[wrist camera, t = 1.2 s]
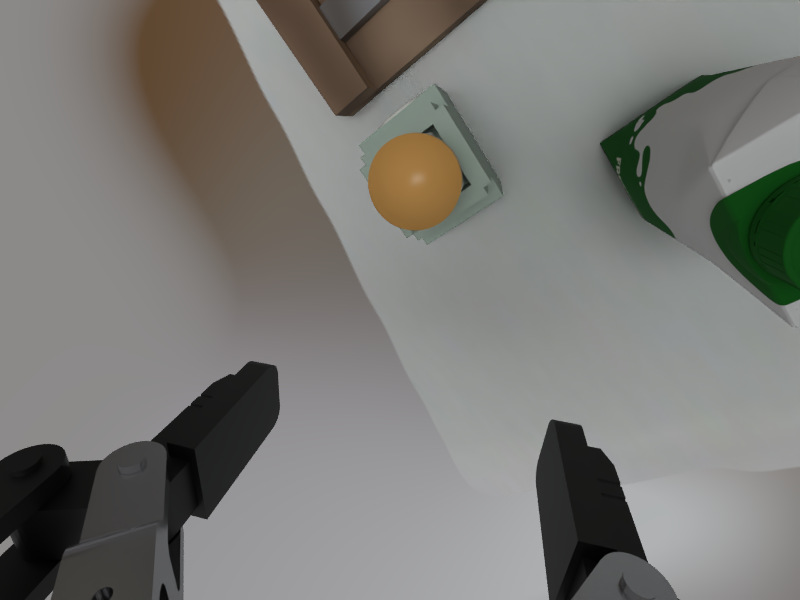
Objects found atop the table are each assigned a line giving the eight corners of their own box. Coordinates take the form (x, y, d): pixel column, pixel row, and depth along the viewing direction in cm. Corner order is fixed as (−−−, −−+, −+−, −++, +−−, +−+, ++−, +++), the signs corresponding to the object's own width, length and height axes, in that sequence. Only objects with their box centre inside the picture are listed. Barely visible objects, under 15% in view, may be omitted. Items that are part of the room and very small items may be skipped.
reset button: (435, 113, 23) (425, 111, 19) (481, 185, 24) (479, 196, 20) (370, 164, 25) (350, 171, 21) (415, 229, 26) (403, 247, 22)
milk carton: (581, 140, 30) (714, 167, 12) (711, 51, 27) (1158, -91, 9) (638, 235, 32) (825, 378, 14) (766, 163, 29) (1230, 233, 11)
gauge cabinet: (443, 88, 31) (424, 74, 22) (500, 181, 33) (504, 204, 24) (381, 137, 33) (341, 143, 24) (438, 222, 35) (420, 257, 26)
